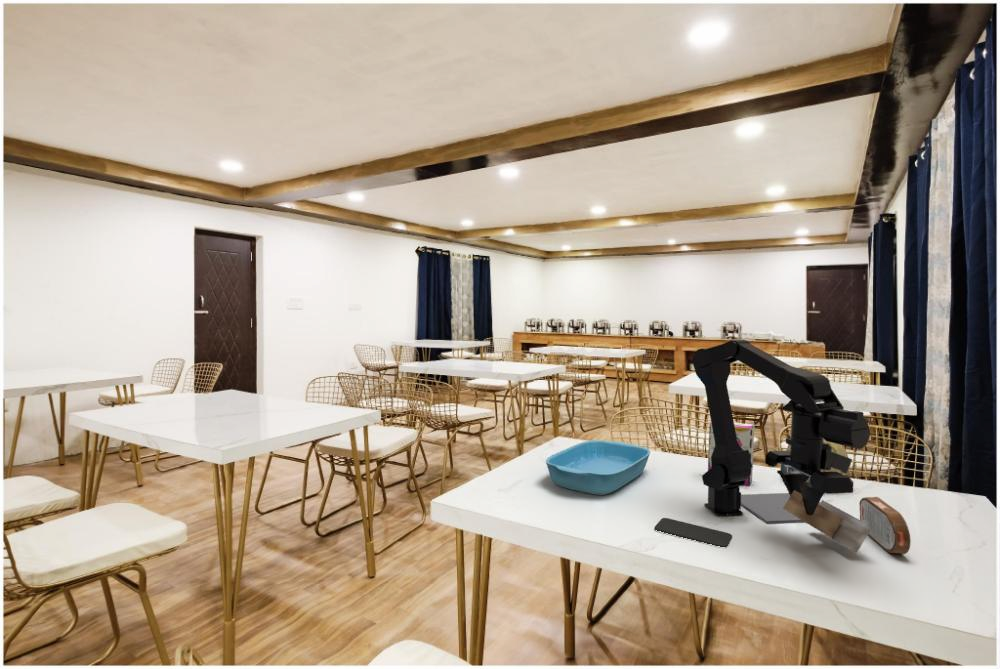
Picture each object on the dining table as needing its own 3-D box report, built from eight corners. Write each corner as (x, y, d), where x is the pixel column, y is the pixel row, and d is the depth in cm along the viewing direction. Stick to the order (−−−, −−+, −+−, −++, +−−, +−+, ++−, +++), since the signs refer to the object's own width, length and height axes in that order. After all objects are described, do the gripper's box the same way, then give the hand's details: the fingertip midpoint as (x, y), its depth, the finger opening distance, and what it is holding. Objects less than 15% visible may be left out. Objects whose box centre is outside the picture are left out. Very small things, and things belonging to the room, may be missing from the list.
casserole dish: (592, 456, 168) (592, 434, 167) (659, 469, 155) (659, 445, 154) (531, 488, 138) (531, 462, 138) (608, 507, 125) (608, 479, 125)
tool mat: (767, 523, 115) (767, 521, 115) (729, 497, 131) (729, 494, 131) (849, 520, 117) (849, 517, 117) (802, 494, 133) (802, 492, 133)
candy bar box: (707, 479, 145) (708, 422, 144) (710, 474, 149) (711, 419, 148) (750, 487, 139) (752, 427, 138) (752, 481, 143) (754, 424, 142)
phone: (726, 547, 103) (652, 528, 112) (726, 551, 103) (652, 531, 112) (733, 533, 109) (663, 516, 118) (733, 537, 109) (662, 520, 118)
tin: (911, 562, 98) (913, 519, 98) (892, 560, 99) (894, 518, 98) (871, 528, 113) (873, 491, 113) (855, 527, 114) (857, 490, 113)
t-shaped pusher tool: (807, 523, 98) (824, 497, 98) (769, 500, 110) (784, 476, 110) (856, 553, 99) (872, 527, 99) (813, 526, 111) (827, 503, 111)
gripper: (882, 448, 94) (878, 530, 95) (812, 424, 113) (810, 493, 114) (825, 449, 94) (822, 532, 94) (764, 425, 112) (762, 495, 113)
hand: (804, 511), depth 104 cm, fingers closed on t-shaped pusher tool, 3 cm apart
